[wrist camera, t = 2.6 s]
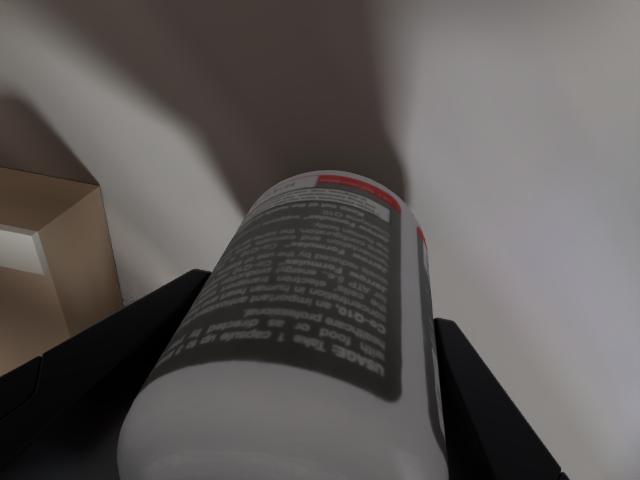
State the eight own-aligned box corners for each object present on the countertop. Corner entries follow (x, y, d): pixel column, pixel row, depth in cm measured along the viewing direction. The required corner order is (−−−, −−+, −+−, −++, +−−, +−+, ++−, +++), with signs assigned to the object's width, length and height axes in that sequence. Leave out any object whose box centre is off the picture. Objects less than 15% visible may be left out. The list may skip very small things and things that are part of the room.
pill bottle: (211, 233, 11) (-91, 656, 4) (342, 123, 9) (151, 623, 2) (327, 339, 13) (239, 780, 6) (465, 266, 11) (584, 837, 4)
